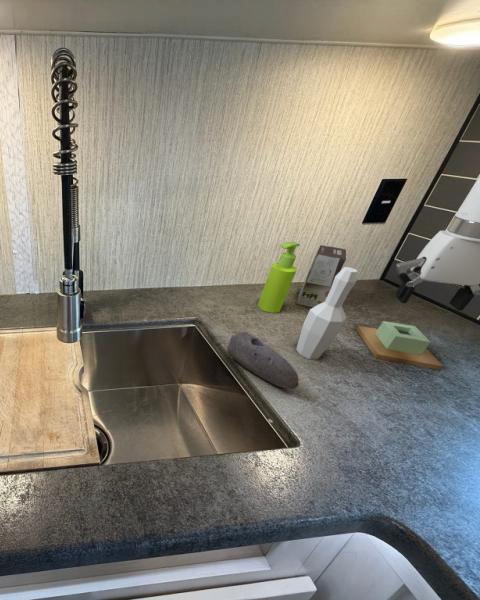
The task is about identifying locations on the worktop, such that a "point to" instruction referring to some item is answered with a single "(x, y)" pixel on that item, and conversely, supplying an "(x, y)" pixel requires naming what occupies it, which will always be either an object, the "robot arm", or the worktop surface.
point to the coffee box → (321, 275)
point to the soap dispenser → (279, 280)
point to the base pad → (382, 353)
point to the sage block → (402, 338)
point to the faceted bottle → (326, 317)
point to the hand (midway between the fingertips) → (427, 303)
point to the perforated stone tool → (262, 360)
